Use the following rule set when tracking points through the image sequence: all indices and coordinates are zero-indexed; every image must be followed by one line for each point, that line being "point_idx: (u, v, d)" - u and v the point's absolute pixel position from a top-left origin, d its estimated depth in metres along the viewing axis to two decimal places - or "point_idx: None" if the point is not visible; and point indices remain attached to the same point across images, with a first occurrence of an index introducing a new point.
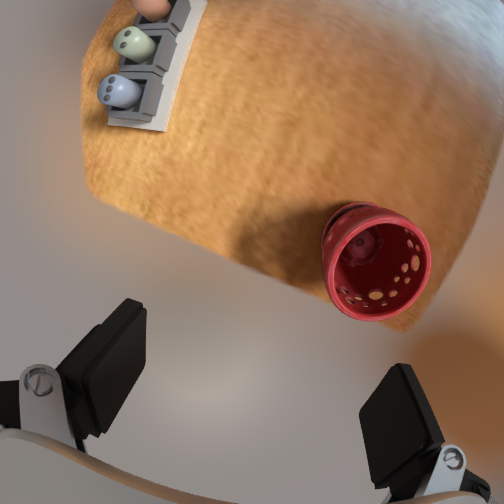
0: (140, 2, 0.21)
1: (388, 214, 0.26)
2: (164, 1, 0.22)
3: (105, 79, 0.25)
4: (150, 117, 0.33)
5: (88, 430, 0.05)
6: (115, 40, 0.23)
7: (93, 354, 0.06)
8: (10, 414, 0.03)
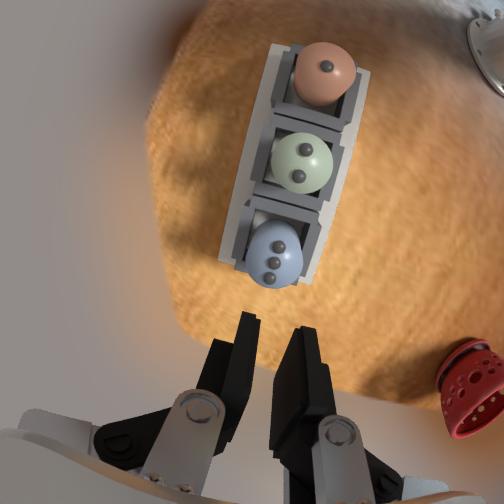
0: (320, 77, 0.15)
1: None
2: None
3: (262, 240, 0.19)
4: None
5: None
6: (276, 156, 0.17)
7: (245, 369, 0.07)
8: None
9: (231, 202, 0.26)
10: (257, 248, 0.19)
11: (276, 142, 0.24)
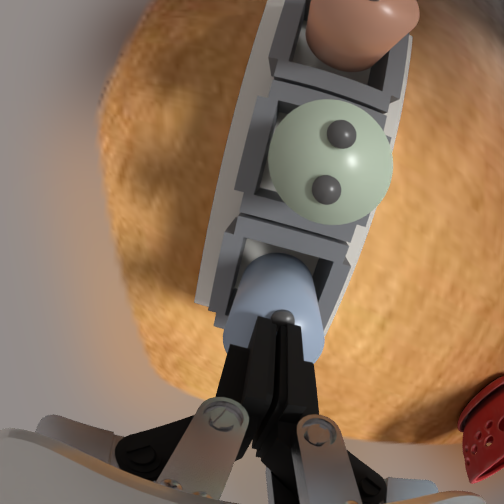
0: (360, 6, 0.06)
1: None
2: None
3: (251, 309, 0.10)
4: None
5: None
6: (279, 147, 0.08)
7: (266, 375, 0.07)
8: None
9: (210, 221, 0.17)
10: (243, 321, 0.10)
11: None
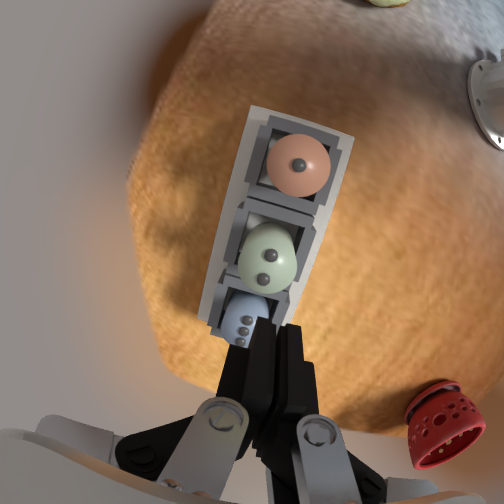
0: (290, 178, 0.17)
1: (470, 423, 0.22)
2: None
3: (234, 314, 0.22)
4: None
5: None
6: (242, 260, 0.18)
7: (266, 375, 0.07)
8: None
9: (208, 270, 0.28)
10: (230, 320, 0.23)
11: (251, 215, 0.26)
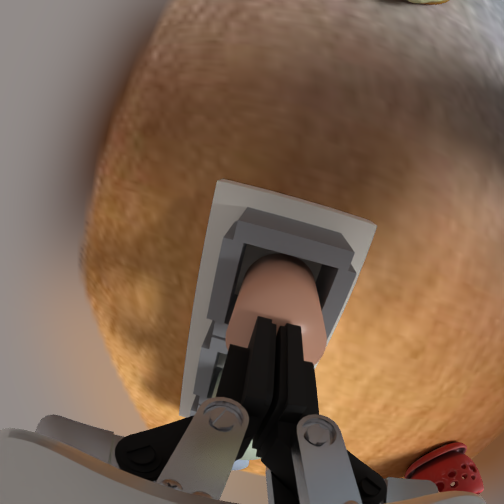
0: None
1: None
2: None
3: None
4: None
5: None
6: None
7: (266, 375, 0.07)
8: None
9: (184, 379, 0.22)
10: None
11: None
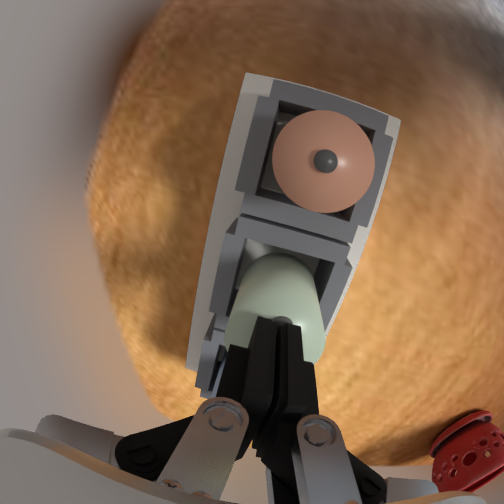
0: (312, 183, 0.10)
1: (502, 462, 0.13)
2: None
3: None
4: None
5: None
6: (232, 333, 0.10)
7: (266, 375, 0.07)
8: None
9: (194, 312, 0.20)
10: None
11: None
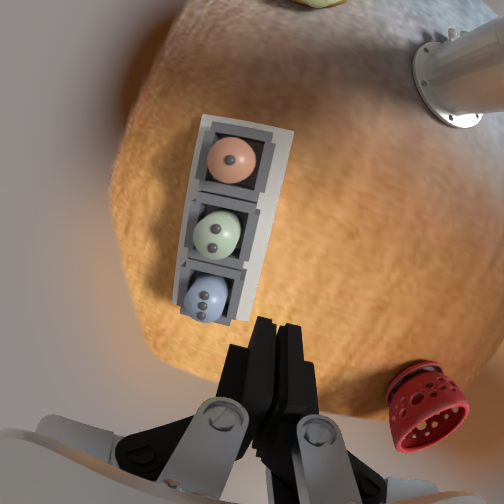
0: (225, 170, 0.22)
1: (449, 402, 0.25)
2: (255, 161, 0.24)
3: (193, 291, 0.26)
4: None
5: None
6: (196, 234, 0.24)
7: (266, 375, 0.07)
8: None
9: (177, 258, 0.32)
10: (190, 296, 0.26)
11: (209, 208, 0.30)
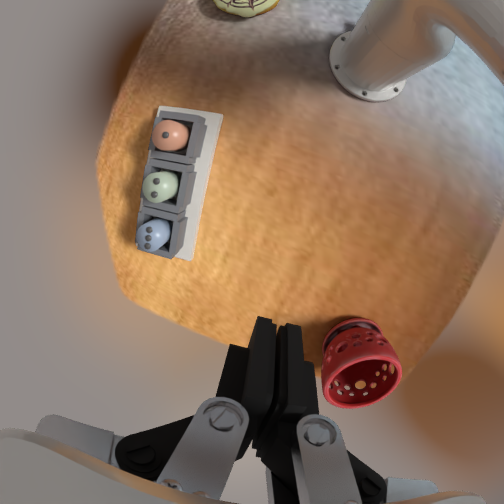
0: (162, 142, 0.31)
1: (372, 353, 0.34)
2: (186, 136, 0.33)
3: (142, 227, 0.35)
4: None
5: None
6: (144, 185, 0.33)
7: (266, 375, 0.07)
8: None
9: (140, 209, 0.41)
10: (140, 230, 0.36)
11: None
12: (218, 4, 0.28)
